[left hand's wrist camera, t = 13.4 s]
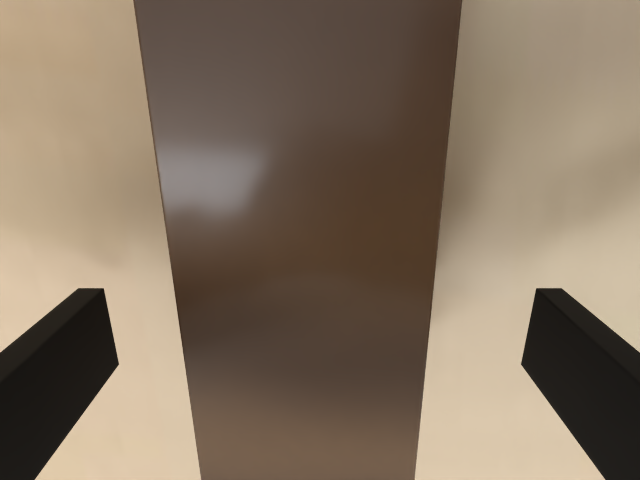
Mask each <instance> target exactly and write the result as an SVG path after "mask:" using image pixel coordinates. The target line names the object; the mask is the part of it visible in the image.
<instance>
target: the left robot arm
mask: <svg viewBox="0 0 640 480" xmlns="http://www.w3.org/2000/svg"><path fill="white" fill-rule="evenodd" d="M118 365H119V363H118V358H117V353H116V348H115V343H114V338H113V333H112V328H111V323H110V318H109V313H108V308H107V303H106V298H105V293H104V288H78V289H77V290H76V291H75V292H73V293H72V294H71V295H70V296H69V297H67V298H66V299H65V300H64V301H62V302H61V303H60V304H59V305H58V306H56V307H55V308H54V309H53V310H52V311H50V312H49V313H48V314H47V315H45V316H44V317H43V318H42V319H41V320H39V321H38V322H37V323H36V324H35V325H33V326H32V327H31V328H30V329H28V330H27V331H26V332H25V333H24V334H22V335H21V336H20V337H19V338H18V339H16V340H15V341H14V342H13V343H11V344H10V345H9V346H8V347H7V348H5V349H4V350H3V351H2V352H1V353H0V480H35V478H36V477H37V476H38V474H39V473H40V472H41V470H42V469H43V467H44V466H45V465H46V463H47V462H48V461H49V459H50V458H51V456H52V455H53V454H54V452H55V451H56V450H57V448H58V447H59V446H60V444H61V443H62V441H63V440H64V439H65V437H66V436H67V435H68V433H69V432H70V431H71V429H72V428H73V426H74V425H75V424H76V422H77V421H78V420H79V418H80V417H81V415H82V414H83V413H84V411H85V410H86V409H87V407H88V406H89V405H90V403H91V402H92V400H93V399H94V398H95V396H96V395H97V394H98V392H99V391H100V390H101V388H102V387H103V385H104V384H105V383H106V381H107V380H108V379H109V377H110V376H111V374H112V373H113V372H114V370H115V369H116V368H117V366H118ZM521 365H522V366H523V368H524V369H525V370H526V372H527V373H528V374H529V376H530V377H531V379H532V380H533V381H534V383H535V384H536V385H537V387H538V388H539V390H540V391H541V392H542V394H543V395H544V396H545V398H546V399H547V400H548V402H549V403H550V405H551V406H552V407H553V409H554V410H555V411H556V413H557V414H558V415H559V417H560V418H561V420H562V421H563V422H564V424H565V425H566V426H567V428H568V429H569V431H570V432H571V433H572V435H573V436H574V437H575V439H576V440H577V441H578V443H579V444H580V446H581V447H582V448H583V450H584V451H585V452H586V454H587V455H588V456H589V458H590V459H591V461H592V462H593V463H594V465H595V466H596V467H597V469H598V470H599V472H600V473H601V474H602V476H603V477H604V478H605V480H640V353H639V352H638V351H637V350H636V349H635V348H633V347H632V346H631V345H630V344H629V343H627V342H626V341H625V340H624V339H622V338H621V337H620V336H619V335H618V334H616V333H615V332H614V331H613V330H612V329H610V328H609V327H608V326H607V325H605V324H604V323H603V322H602V321H601V320H599V319H598V318H597V317H596V316H595V315H593V314H592V313H591V312H590V311H588V310H587V309H586V308H585V307H584V306H582V305H581V304H580V303H579V302H578V301H576V300H575V299H574V298H573V297H571V296H570V295H569V294H568V293H567V292H565V291H564V290H563V289H562V288H536V293H535V298H534V303H533V308H532V313H531V318H530V323H529V328H528V333H527V338H526V343H525V348H524V353H523V358H522V363H521Z"/></svg>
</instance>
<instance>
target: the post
mask: <svg viewBox="0 0 640 480" xmlns="http://www.w3.org/2000/svg"><path fill="white" fill-rule="evenodd" d="M133 1H134V8H135V15H136V22H137V29H138V36H139V43H140V50H141V57H142V64H143V72H144V79H145V86H146V93H147V100H148V107H149V114H150V121H151V128H152V135H153V142H154V149H155V156H156V163H157V170H158V177H159V184H160V191H161V199H162V206H163V213H164V220H165V227H166V234H167V241H168V248H169V255H170V262H171V269H172V276H173V283H174V290H175V297H176V304H177V311H178V319H179V326H180V333H181V340H182V347H183V354H184V361H185V368H186V375H187V382H188V389H189V396H190V403H191V410H192V417H193V424H194V431H195V439H196V446H197V453H198V460H199V467H200V474H201V480H414V479H415V469H416V459H417V449H418V439H419V429H420V419H421V409H422V399H423V389H424V378H425V368H426V358H427V348H428V338H429V328H430V318H431V308H432V298H433V288H434V278H435V268H436V258H437V248H438V238H439V228H440V218H441V208H442V198H443V188H444V178H445V168H446V157H447V147H448V137H449V127H450V117H451V107H452V97H453V87H454V77H455V67H456V57H457V47H458V37H459V27H460V17H461V7H462V0H133Z"/></svg>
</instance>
